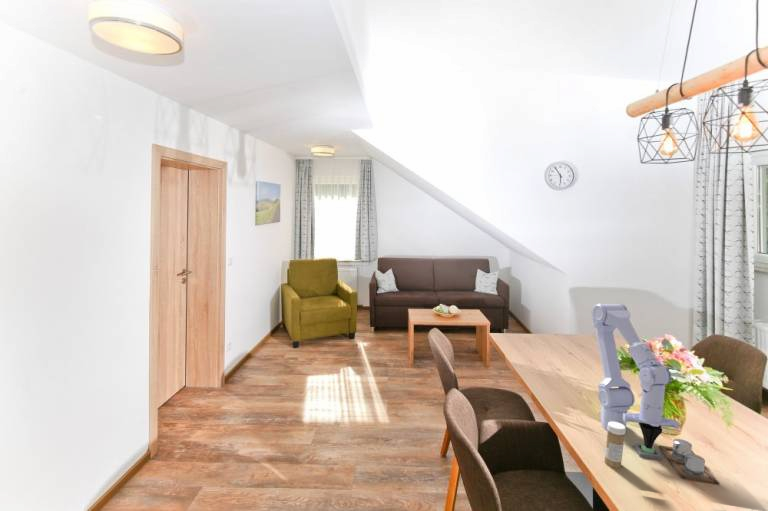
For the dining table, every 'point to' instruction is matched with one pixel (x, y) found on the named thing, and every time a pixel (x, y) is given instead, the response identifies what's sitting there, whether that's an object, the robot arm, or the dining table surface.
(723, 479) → the dining table surface
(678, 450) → the seated billet
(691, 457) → the cylinder
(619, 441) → the sprinkles bottle
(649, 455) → the grey square frame
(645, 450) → the button
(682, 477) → the pallet
